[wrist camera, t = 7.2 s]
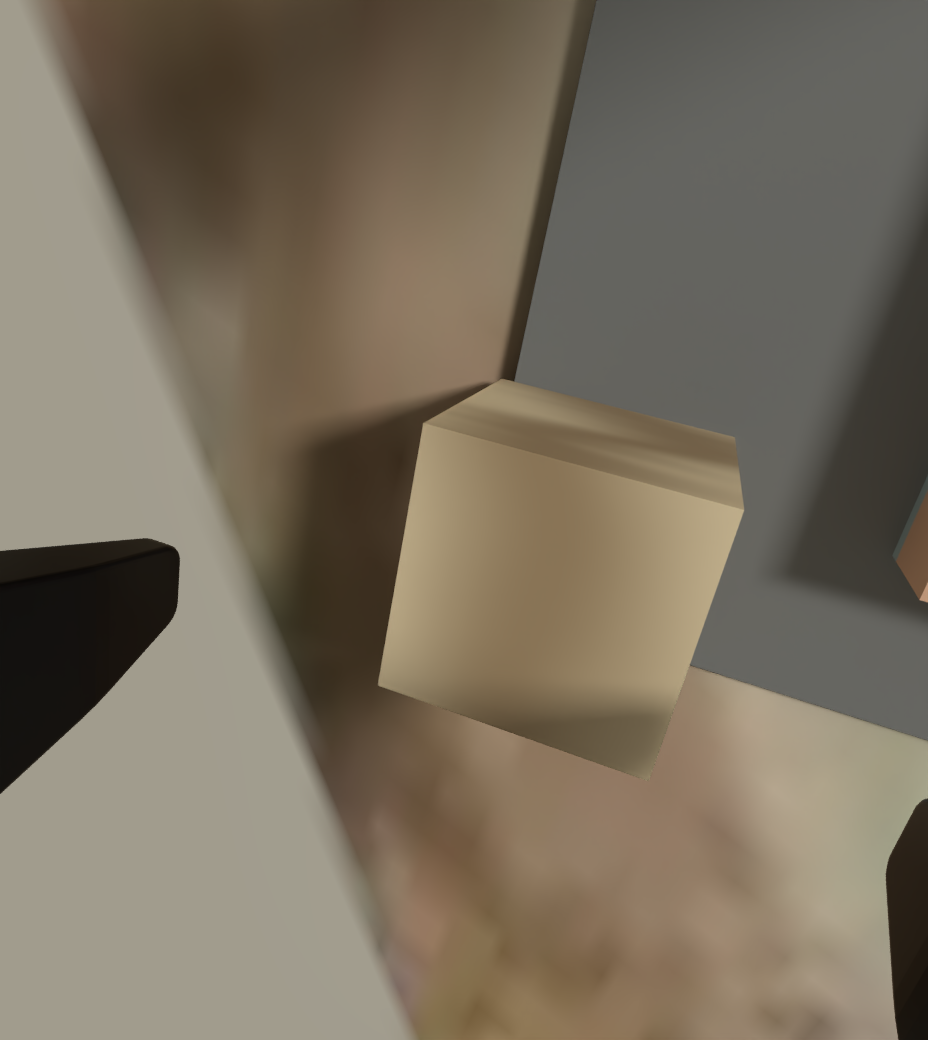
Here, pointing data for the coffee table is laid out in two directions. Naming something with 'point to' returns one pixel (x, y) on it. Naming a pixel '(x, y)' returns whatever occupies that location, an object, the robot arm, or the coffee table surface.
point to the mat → (764, 309)
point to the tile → (915, 546)
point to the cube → (560, 568)
